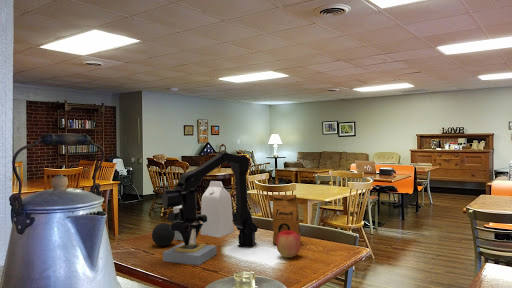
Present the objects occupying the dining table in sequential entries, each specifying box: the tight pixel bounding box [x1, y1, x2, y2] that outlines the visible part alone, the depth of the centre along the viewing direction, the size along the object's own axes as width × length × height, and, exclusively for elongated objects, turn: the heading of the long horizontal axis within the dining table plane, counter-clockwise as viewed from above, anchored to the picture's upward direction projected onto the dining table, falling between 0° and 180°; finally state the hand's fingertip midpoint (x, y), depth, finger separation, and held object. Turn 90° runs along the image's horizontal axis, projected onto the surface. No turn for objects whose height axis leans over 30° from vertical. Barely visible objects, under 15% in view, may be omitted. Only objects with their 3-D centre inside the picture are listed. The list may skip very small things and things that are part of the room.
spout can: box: [179, 228, 197, 249], centre depth 152 cm, size 7×5×9 cm
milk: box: [200, 180, 235, 238], centre depth 190 cm, size 12×12×26 cm
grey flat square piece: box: [162, 242, 218, 266], centre depth 151 cm, size 16×14×4 cm
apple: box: [275, 230, 302, 259], centre depth 149 cm, size 10×10×10 cm
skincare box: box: [172, 204, 184, 242], centre depth 181 cm, size 8×7×16 cm
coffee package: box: [271, 193, 302, 245], centre depth 168 cm, size 10×12×22 cm
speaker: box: [151, 222, 175, 247], centre depth 170 cm, size 10×10×10 cm
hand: (190, 244), depth 151 cm, fingers closed on spout can, 5 cm apart
